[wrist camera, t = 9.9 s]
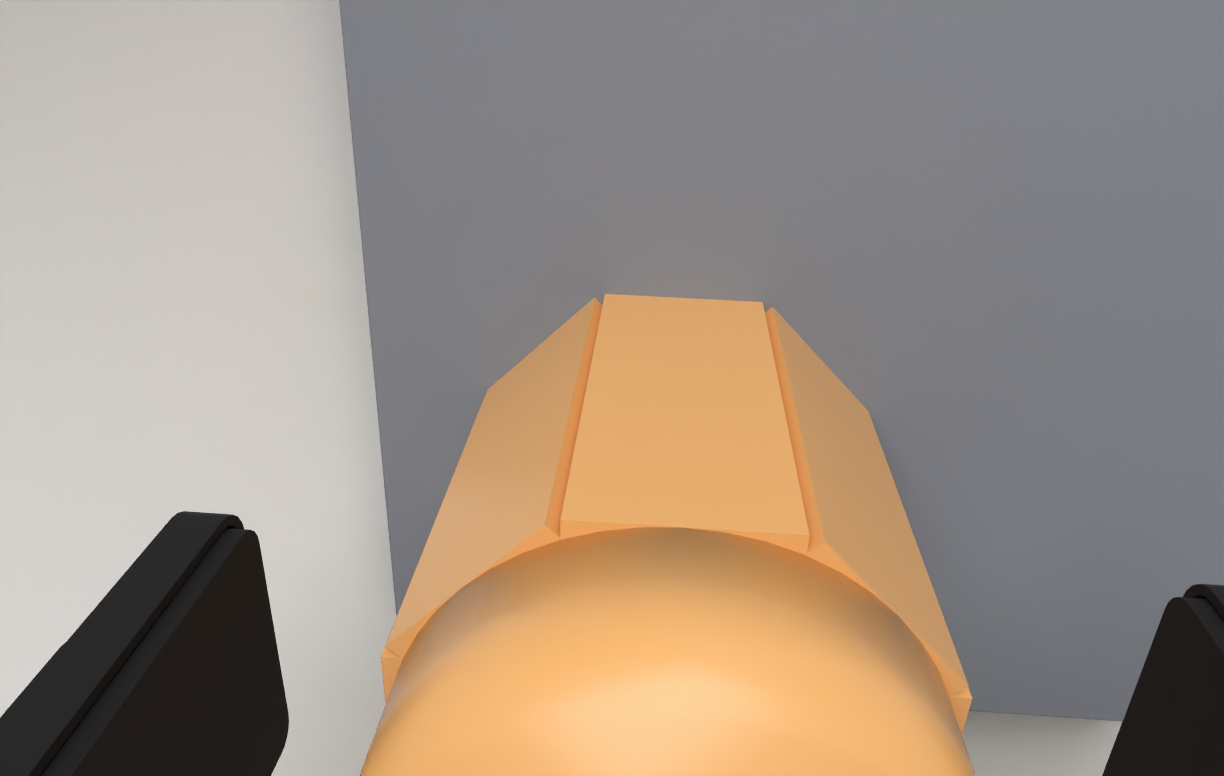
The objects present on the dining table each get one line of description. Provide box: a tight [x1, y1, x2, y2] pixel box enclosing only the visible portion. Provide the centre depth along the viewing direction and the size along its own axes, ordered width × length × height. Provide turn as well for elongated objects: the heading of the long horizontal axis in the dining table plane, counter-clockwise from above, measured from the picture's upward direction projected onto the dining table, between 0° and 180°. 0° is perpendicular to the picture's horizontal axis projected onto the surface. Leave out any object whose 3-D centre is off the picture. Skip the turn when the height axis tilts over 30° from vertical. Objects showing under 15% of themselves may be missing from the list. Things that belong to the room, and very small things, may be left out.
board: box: [339, 0, 1224, 721], centre depth 10 cm, size 12×18×6 cm, turn 178°
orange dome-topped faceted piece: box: [360, 294, 975, 776], centre depth 10 cm, size 5×5×7 cm
